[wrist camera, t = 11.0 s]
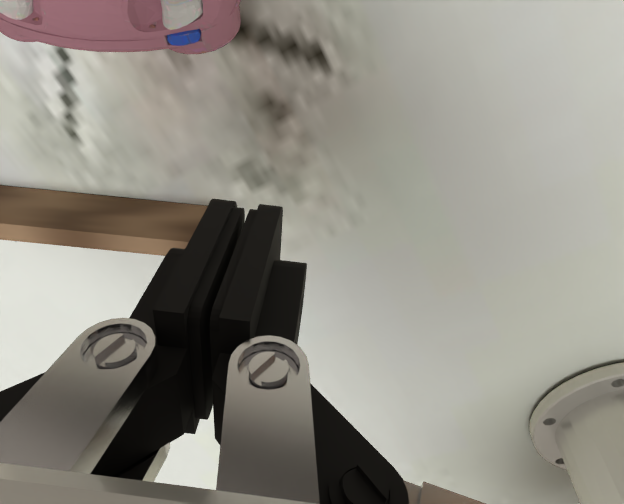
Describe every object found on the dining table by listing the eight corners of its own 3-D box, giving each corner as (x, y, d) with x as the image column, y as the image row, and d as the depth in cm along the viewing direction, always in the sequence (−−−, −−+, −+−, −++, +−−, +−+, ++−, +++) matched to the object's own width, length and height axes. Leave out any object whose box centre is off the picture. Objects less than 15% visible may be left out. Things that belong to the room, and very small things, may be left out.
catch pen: (205, -181, 17) (162, -207, 13) (220, 222, 27) (198, 278, 23) (-197, -224, 17) (-369, -263, 13) (-31, 197, 27) (-97, 249, 23)
